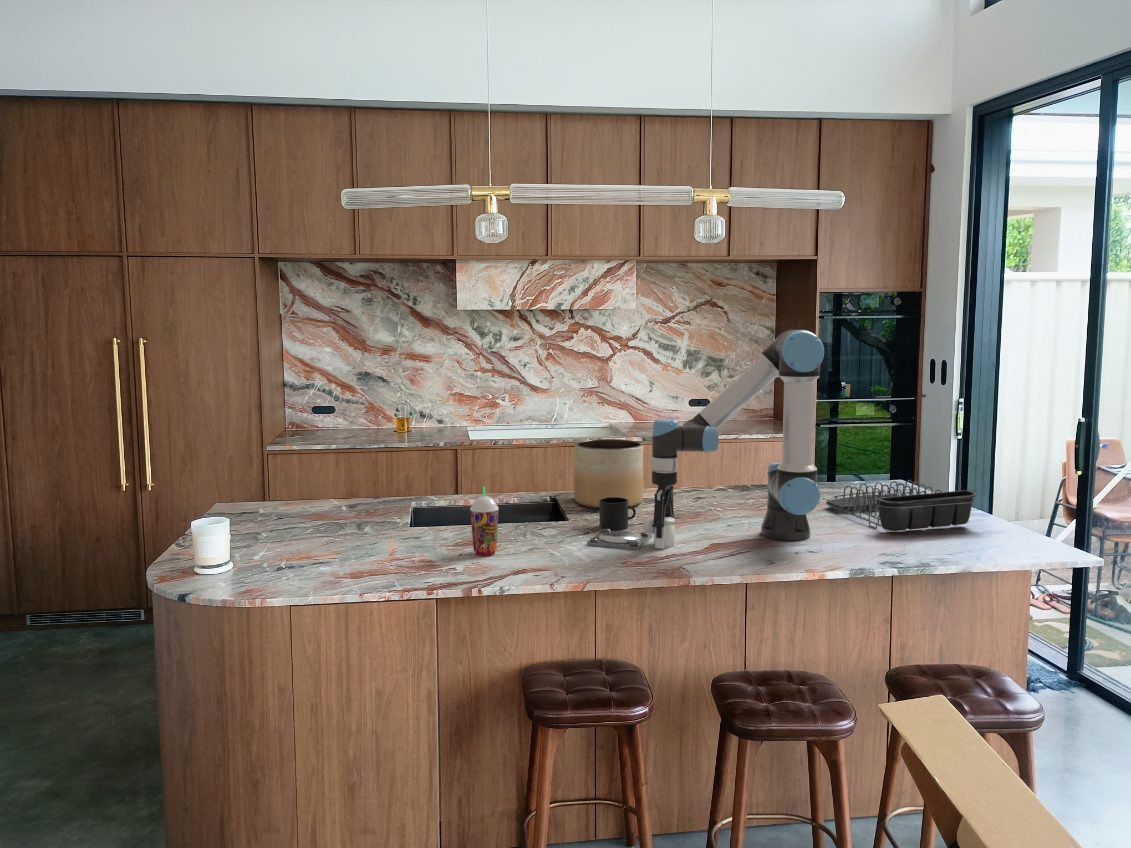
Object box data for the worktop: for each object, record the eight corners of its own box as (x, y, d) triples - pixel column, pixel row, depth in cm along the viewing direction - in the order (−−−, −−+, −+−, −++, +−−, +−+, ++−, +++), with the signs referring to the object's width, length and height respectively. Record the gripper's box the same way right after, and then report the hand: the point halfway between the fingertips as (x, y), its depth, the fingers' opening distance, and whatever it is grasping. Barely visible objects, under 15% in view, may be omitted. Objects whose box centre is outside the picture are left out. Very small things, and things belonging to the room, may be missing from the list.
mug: (637, 530, 288) (637, 502, 287) (600, 530, 288) (600, 503, 287) (634, 523, 297) (634, 496, 296) (598, 523, 297) (598, 497, 296)
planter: (578, 494, 343) (578, 438, 340) (644, 496, 340) (645, 439, 337) (570, 509, 318) (569, 448, 315) (641, 511, 315) (641, 449, 312)
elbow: (677, 543, 272) (677, 517, 271) (672, 549, 266) (672, 522, 265) (647, 540, 275) (647, 515, 274) (641, 546, 269) (642, 520, 268)
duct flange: (651, 537, 279) (651, 531, 279) (637, 550, 264) (637, 544, 264) (603, 532, 285) (603, 527, 285) (586, 545, 270) (586, 539, 270)
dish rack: (887, 538, 278) (889, 500, 277) (814, 507, 321) (815, 474, 319) (980, 530, 287) (982, 494, 285) (896, 502, 329) (898, 470, 328)
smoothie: (488, 559, 255) (486, 490, 253) (465, 555, 260) (463, 487, 257) (505, 552, 262) (504, 485, 260) (482, 548, 267) (481, 483, 264)
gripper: (661, 464, 278) (660, 534, 281) (642, 476, 258) (641, 552, 261) (684, 465, 275) (683, 537, 278) (668, 477, 256) (666, 554, 259)
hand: (663, 544), depth 270 cm, fingers open, 8 cm apart
